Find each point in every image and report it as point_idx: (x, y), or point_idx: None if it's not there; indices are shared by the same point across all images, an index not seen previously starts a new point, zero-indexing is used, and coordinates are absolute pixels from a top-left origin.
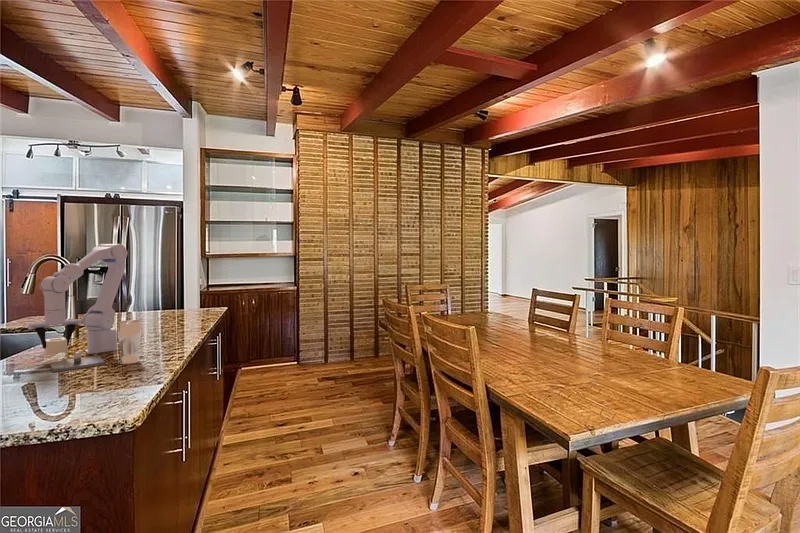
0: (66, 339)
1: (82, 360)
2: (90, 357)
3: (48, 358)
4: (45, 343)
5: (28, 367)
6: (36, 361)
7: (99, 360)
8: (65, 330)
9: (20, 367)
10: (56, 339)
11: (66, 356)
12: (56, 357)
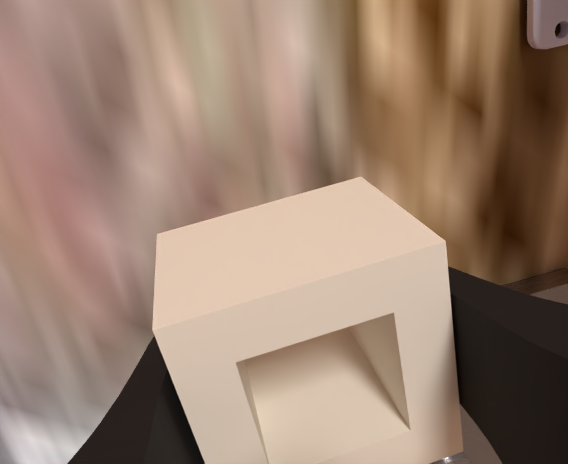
0: (457, 421)
1: (461, 406)
2: None
3: (160, 29)
4: (203, 460)
5: (83, 375)
6: (71, 141)
7: None
8: (549, 366)
9: (8, 351)
10: (326, 323)
11: (333, 19)
12: (238, 17)
